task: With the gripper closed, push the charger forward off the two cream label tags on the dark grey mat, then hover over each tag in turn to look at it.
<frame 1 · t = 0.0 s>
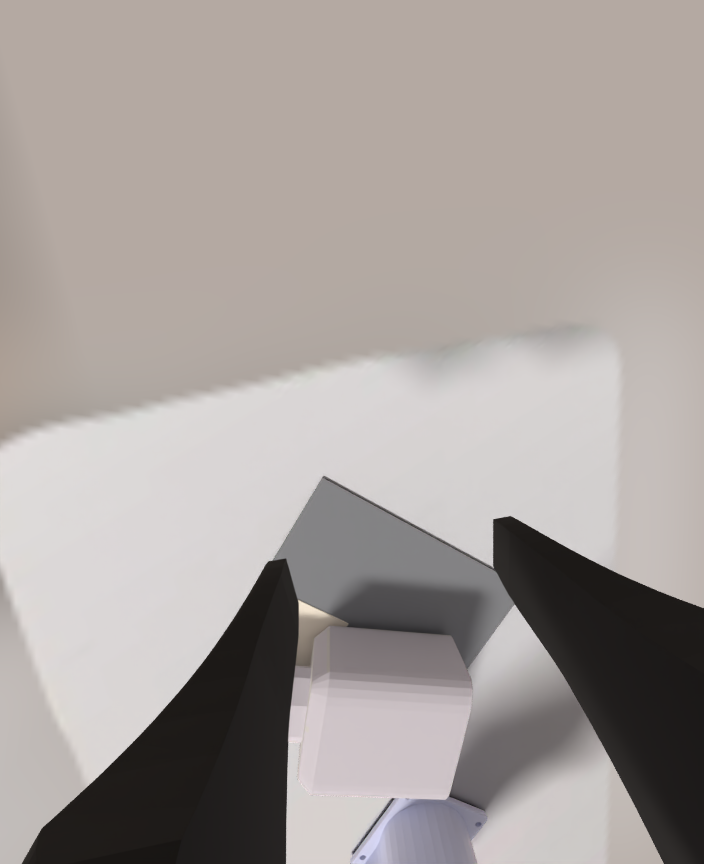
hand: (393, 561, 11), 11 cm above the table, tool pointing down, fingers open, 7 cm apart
label mat: (362, 635, 24), on the table
charger: (338, 672, 24), resting on label mat
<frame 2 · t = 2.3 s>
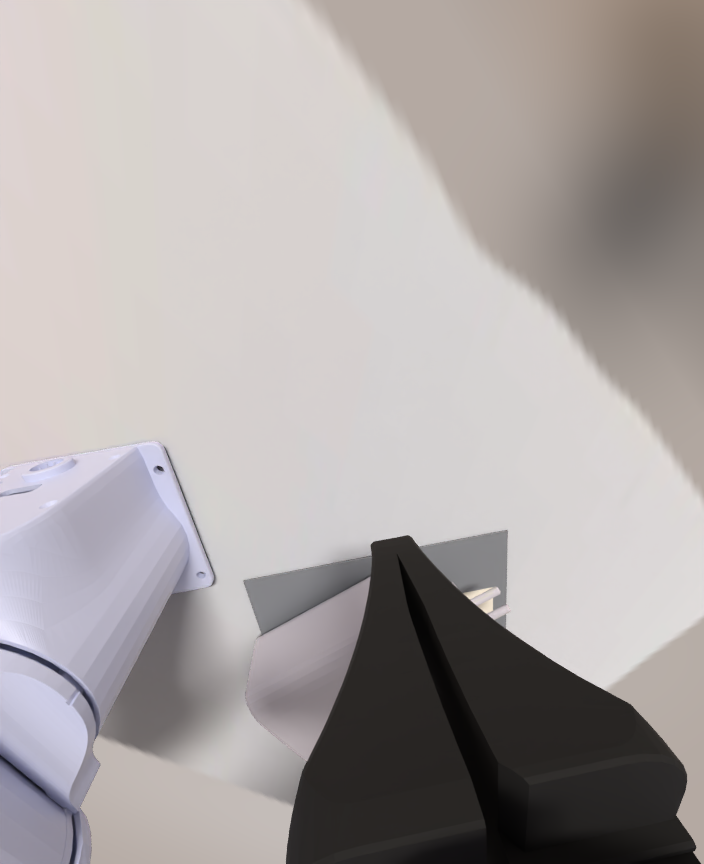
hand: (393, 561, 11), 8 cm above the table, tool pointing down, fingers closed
label mat: (392, 652, 24), on the table
charger: (386, 617, 23), resting on label mat
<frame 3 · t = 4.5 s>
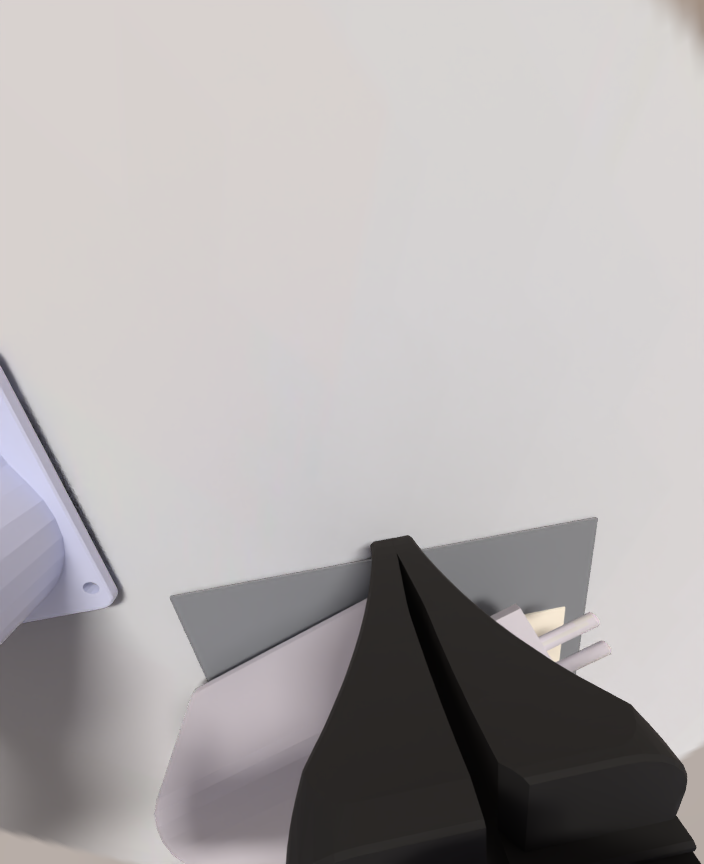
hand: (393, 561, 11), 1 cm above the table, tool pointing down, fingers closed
label mat: (407, 701, 16), on the table
charger: (401, 652, 15), resting on label mat, touching gripper
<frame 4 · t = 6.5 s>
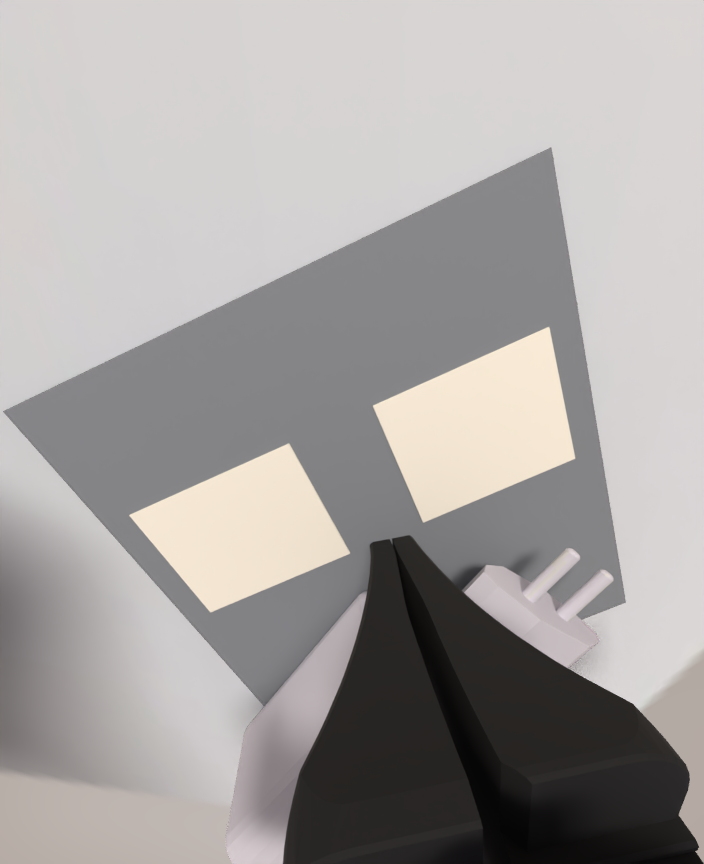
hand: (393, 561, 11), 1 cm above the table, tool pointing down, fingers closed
label mat: (380, 525, 12), on the table
charger: (423, 636, 15), on the table, touching gripper, label mat
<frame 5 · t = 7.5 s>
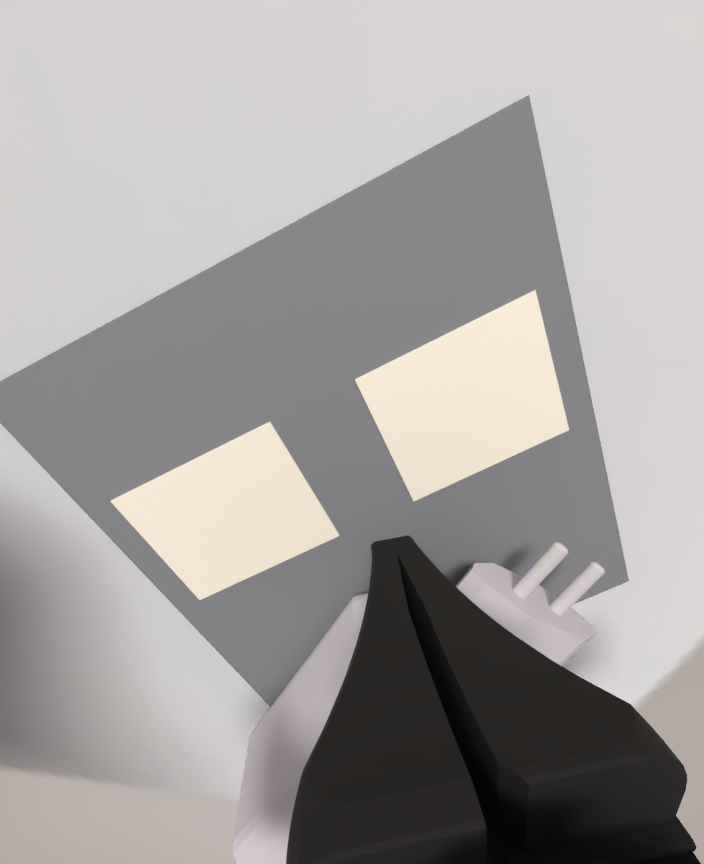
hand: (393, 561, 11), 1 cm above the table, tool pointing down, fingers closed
label mat: (370, 506, 12), on the table
charger: (422, 635, 15), on the table, touching gripper, label mat
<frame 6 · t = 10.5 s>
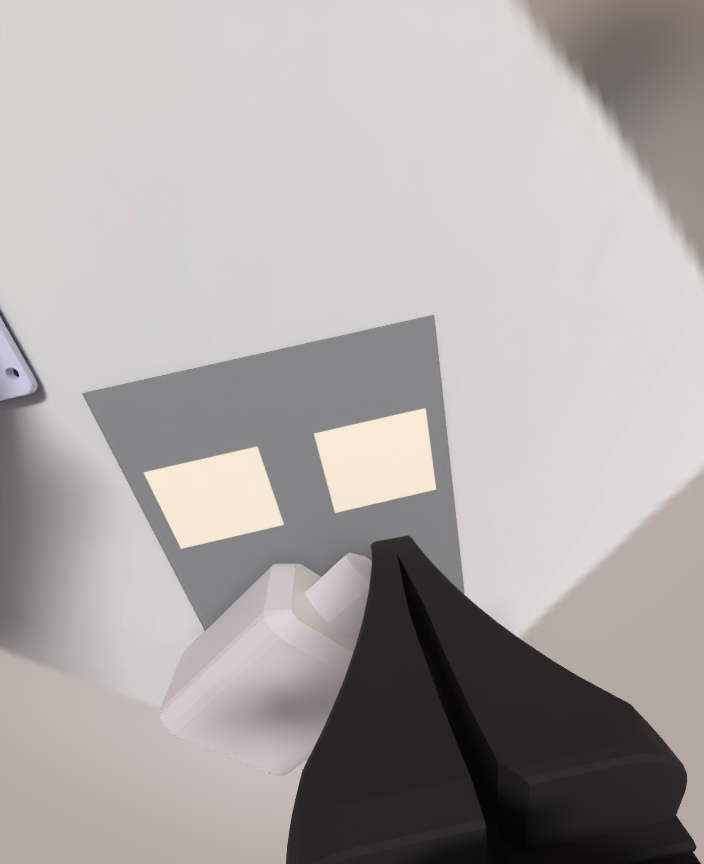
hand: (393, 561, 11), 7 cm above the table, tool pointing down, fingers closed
label mat: (307, 510, 19), on the table
charger: (317, 602, 21), on the table, touching label mat
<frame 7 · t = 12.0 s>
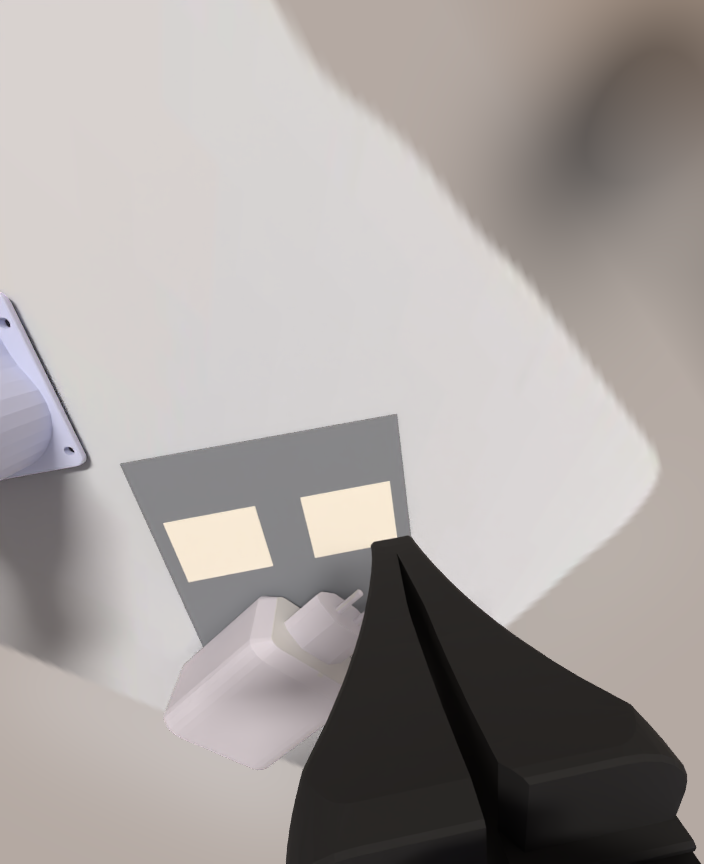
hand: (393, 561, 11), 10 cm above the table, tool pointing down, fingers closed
label mat: (292, 554, 23), on the table
charger: (296, 626, 26), on the table, touching label mat
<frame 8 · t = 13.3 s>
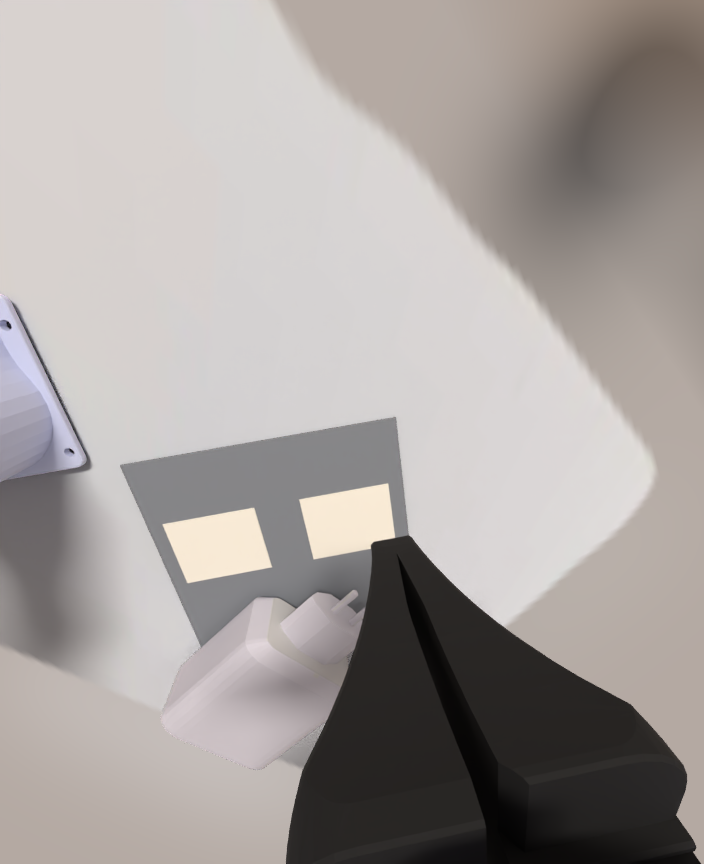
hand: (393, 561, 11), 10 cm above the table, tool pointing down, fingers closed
label mat: (291, 556, 23), on the table
charger: (292, 627, 26), on the table, touching label mat
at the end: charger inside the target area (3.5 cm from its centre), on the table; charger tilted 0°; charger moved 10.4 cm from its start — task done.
